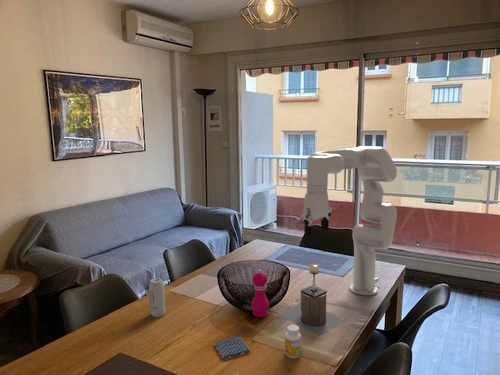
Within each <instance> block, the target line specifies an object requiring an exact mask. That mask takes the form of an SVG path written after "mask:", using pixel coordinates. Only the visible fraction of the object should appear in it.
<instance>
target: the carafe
mask: <svg viewBox="0 0 500 375" xmlns="http://www.w3.org/2000/svg"><path fill="white" fill-rule="evenodd" d="M327 293H328V291H327V290H325V289H323V288H320V287H318V286H316V285H315V292H313V284H312V285H310V286H308V287H305V288H302V289H301V290H300V303H301V311H302V316H301V321H302V322H303V323H304V324H306V325H309V326H321V325H324V324H325V323H326V312H327Z"/></svg>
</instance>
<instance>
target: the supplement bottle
mask: <svg viewBox="0 0 500 375" xmlns="http://www.w3.org/2000/svg"><path fill="white" fill-rule="evenodd" d="M286 328H287V329H286V333H285V336H284V349H285V350H284V353H285V354H284V355H286V357H287V358H291V359H296V358H299V357H300V356H301V354H302V353H301V352H302V334H301V333H300V326H298V324H297V325H296V324H289V325H288V326H287V327H286Z"/></svg>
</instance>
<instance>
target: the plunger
mask: <svg viewBox="0 0 500 375" xmlns="http://www.w3.org/2000/svg"><path fill="white" fill-rule="evenodd" d="M308 268H309V270H308V273H309V274H310V275H312V285H313V292H315V286H316V275H319V274H320V265H319V264H317V263H311V264H309V265H308Z"/></svg>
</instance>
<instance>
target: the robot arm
mask: <svg viewBox="0 0 500 375" xmlns="http://www.w3.org/2000/svg"><path fill="white" fill-rule="evenodd" d="M356 168H357V173H358V177H359V178H360V180H361V182H362V184H363V195H362V202H361V206H360V211H359V213H360V215H359V216H360V219H362V220H364V221H366V222H371V223H376V224H379V225H381V226H379V225H373V224H368V223H358V224H356V225H355V226H354V227H353V228H352V240H353V254H354V255H353V274H352V275H353V279H352V280H353V281H352V283H351V284H349V290H350V291H351V292H352V293H353V294H357V295H360V296H365V297H366V296H374V295H377V293H378V291H379V288H378V287H377V286H376V283H378V282H379V281H380V278H378V277H376V276H375V275H376V257H377V255H376V251H375V248H376V249H381V250H388V249H389V248H390V247H391V246H392V243H393V239H394V233H395V227H396V224H397V218H398V211H397V207H396V206H395V205H394V204H392V203H390V202H389V203H388V202H383V199H384V188H383V186H382V184H381V183H380V182H383V183H391V182H393V181H395V179H396V178H397V174H398V171H397V166H396V164H395V162H394V160H393V158H392V157H391V155H390V154H389V152H388V151H387V150H386V149H385V148H384V147H382V146H374V145H373V146H370V145H361V146H355V147H350V148H342V149H334V150H333V149H332V150H324V151H316V152H313V153H312V154H310V156H308V157H307V159H306V192H305V195H304V200H303V210H302V211H303V212H302V213H300V220H301V222H302V224H303V225H304V229H303V230H304V235H305V236H308V237H312V236H313V226H312V224H313V222H314V221H315V220H316V221H317V220H320V219H321V221H320V228H321V230H322V231H326V232H328V231H329V229H330V228H329V224H330V223H329V221H330V219H331V215H332V211H333V207H331V206H330V204H329V193H328V175H329V174H333V175H335V174H339V173H341V172H343V170H352V169H356Z"/></svg>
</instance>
